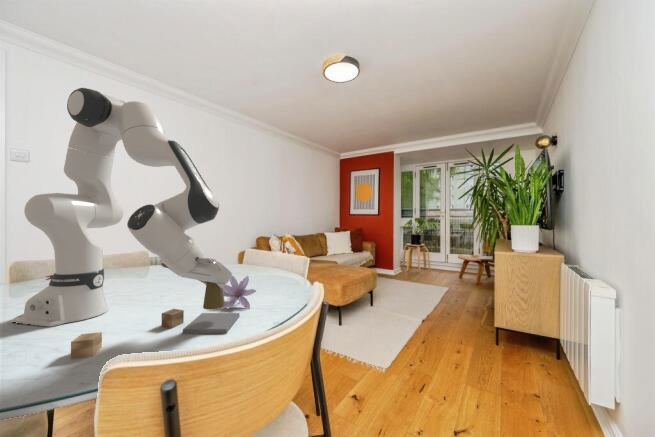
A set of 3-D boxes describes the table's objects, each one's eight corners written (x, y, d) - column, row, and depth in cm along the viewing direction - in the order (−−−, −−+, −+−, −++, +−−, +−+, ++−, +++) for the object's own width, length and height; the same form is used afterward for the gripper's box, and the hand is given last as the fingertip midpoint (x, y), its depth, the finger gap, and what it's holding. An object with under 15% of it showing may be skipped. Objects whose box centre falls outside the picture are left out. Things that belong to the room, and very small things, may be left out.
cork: (207, 302, 80) (207, 267, 80) (227, 302, 81) (227, 267, 81) (199, 309, 74) (199, 271, 74) (221, 309, 75) (221, 271, 75)
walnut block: (161, 326, 76) (161, 313, 76) (173, 321, 79) (173, 308, 79) (172, 328, 74) (172, 314, 74) (183, 323, 78) (183, 310, 78)
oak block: (70, 359, 58) (71, 341, 58) (81, 350, 62) (81, 334, 62) (92, 356, 59) (92, 339, 59) (101, 348, 63) (101, 332, 63)
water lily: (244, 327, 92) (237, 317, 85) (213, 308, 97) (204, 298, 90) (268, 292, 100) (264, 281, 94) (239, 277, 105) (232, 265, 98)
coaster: (182, 333, 71) (182, 329, 71) (202, 316, 83) (202, 313, 83) (226, 333, 72) (226, 329, 72) (239, 316, 84) (239, 313, 84)
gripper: (219, 250, 66) (246, 279, 75) (171, 245, 76) (200, 272, 85) (203, 270, 63) (235, 299, 71) (155, 263, 72) (188, 289, 81)
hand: (216, 284), depth 78 cm, fingers closed on cork, 4 cm apart
